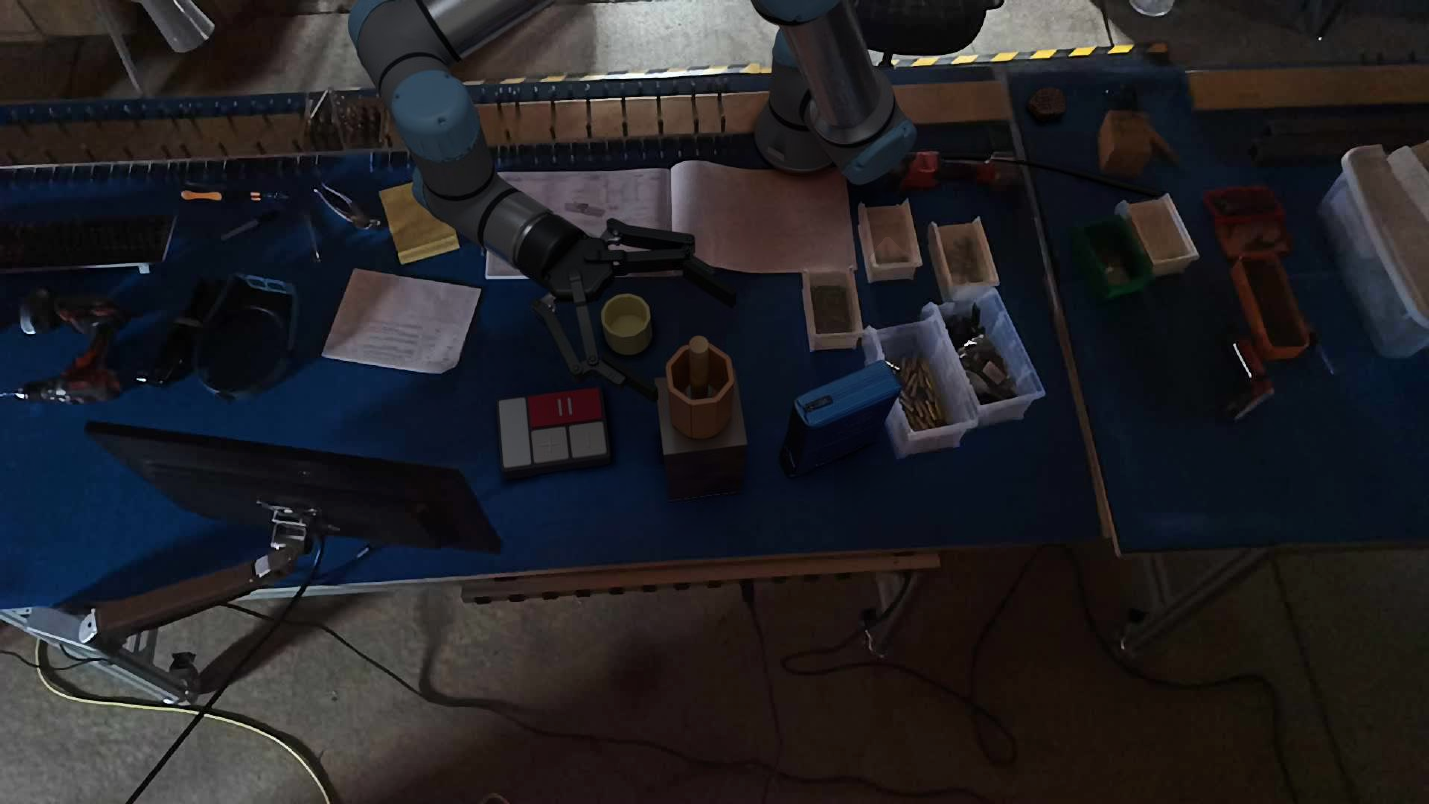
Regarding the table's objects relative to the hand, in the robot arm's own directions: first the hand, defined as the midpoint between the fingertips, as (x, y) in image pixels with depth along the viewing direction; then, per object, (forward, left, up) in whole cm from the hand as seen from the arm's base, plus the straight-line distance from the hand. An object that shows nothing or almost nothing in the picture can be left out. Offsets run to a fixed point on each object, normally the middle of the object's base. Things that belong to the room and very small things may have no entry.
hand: (696, 346), depth 87 cm
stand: (0, +1, -36) cm, 36 cm away
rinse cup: (+8, -21, -36) cm, 43 cm away
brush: (0, +1, -15) cm, 15 cm away
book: (-18, +1, -36) cm, 41 cm away
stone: (-67, -55, -36) cm, 94 cm away
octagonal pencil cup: (0, +1, -16) cm, 16 cm away
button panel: (+20, -6, -36) cm, 42 cm away
